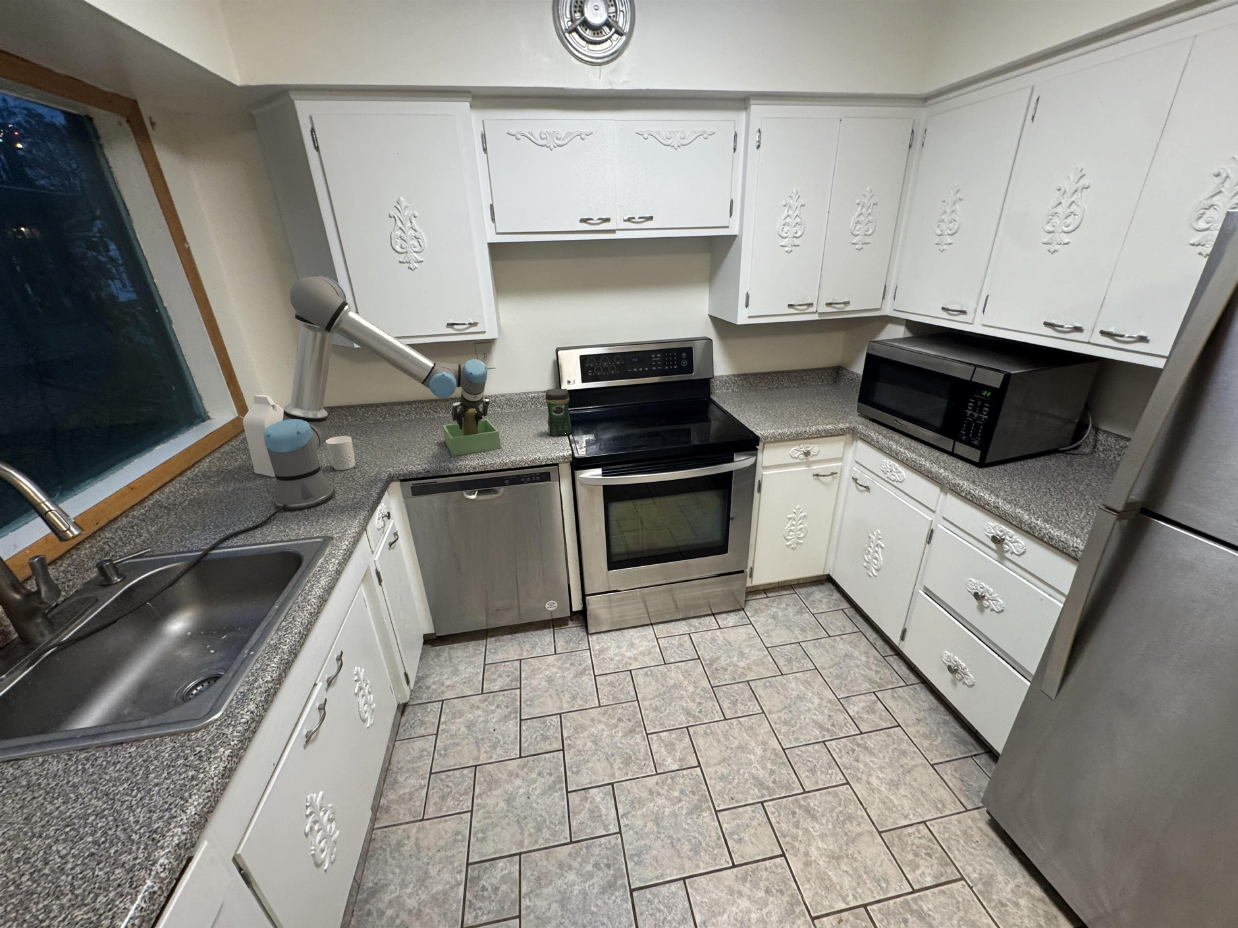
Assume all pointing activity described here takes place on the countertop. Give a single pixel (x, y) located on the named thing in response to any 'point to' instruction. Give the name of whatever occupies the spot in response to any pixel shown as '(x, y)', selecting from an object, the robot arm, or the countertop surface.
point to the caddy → (471, 438)
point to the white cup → (341, 452)
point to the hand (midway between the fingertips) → (467, 425)
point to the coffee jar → (558, 412)
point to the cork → (469, 423)
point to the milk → (261, 431)
